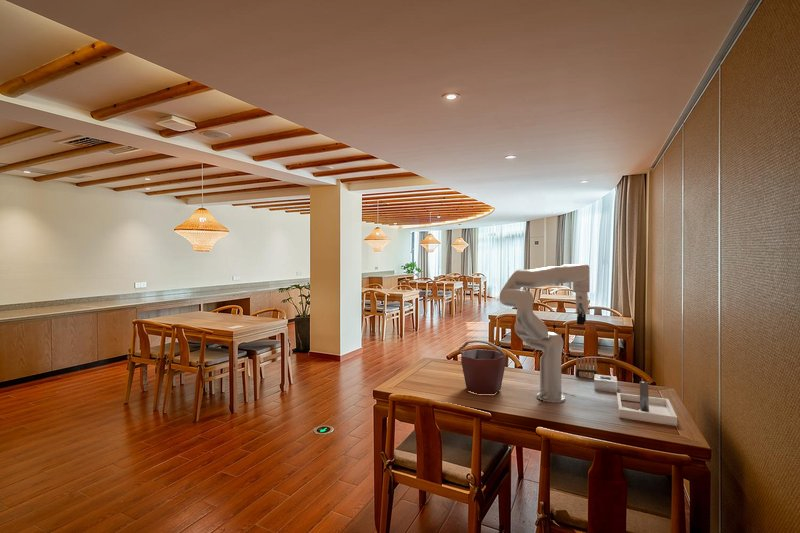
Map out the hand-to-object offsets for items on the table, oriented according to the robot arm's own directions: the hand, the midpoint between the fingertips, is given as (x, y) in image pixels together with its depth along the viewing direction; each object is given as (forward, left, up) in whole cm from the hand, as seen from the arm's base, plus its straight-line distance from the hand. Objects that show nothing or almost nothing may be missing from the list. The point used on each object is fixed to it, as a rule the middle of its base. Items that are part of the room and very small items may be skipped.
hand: (581, 323), depth 197 cm
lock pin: (-9, -30, -33) cm, 46 cm away
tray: (-9, -30, -34) cm, 46 cm away
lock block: (+9, -8, -34) cm, 36 cm away
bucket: (-33, +36, -34) cm, 60 cm away
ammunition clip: (+21, +6, -34) cm, 40 cm away
